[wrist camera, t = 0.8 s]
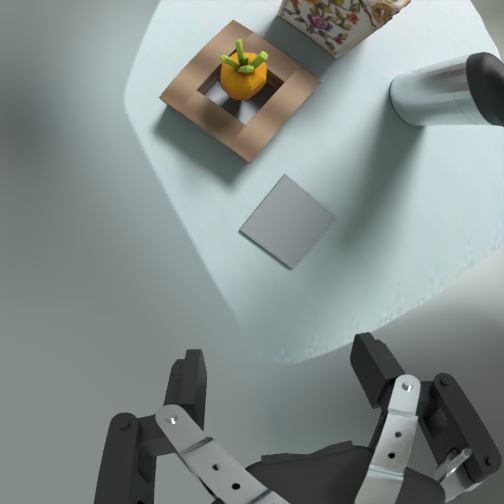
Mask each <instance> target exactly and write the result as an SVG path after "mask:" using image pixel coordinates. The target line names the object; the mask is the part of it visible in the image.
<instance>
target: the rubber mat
mask: <svg viewBox="0 0 504 504" xmlns="http://www.w3.org/2000/svg"><path fill="white" fill-rule="evenodd" d="M335 219H336V218H334V217H333V216H332V215H331V214H330V213H329V212H328V211H327V210H326V209H325V208H324V207H322V206H321V205H320V204H319V203H318V202H317V201H316V200H315V199H314V198H312V197H311V196H310V195H309V194H308V193H307V192H306V191H304V190H303V189H302V188H301V187H300V186H299V185H298V184H296V183H295V182H294V181H293V180H292V179H290V178H289V177H288V176H287V175H286V174H284V175H283V176H282V178H281V179H280V180H279V181H278V182H277V184H276V185H275V186H274V187H273V189H272V190H271V191H270V192H269V193H268V195H267V196H266V197H265V198H264V200H263V201H262V202H261V203H260V204H259V206H258V207H257V208H256V209H255V211H254V212H253V213H252V214H251V216H250V217H249V218H248V219H247V221H246V222H245V223H244V224H243V226H242V227H241V228H240V230H241V231H242V232H243V233H245V234H246V235H247V236H249V237H250V238H251V239H253V240H254V241H255V242H257V243H258V244H259V245H261V246H262V247H263V248H265V249H266V250H267V251H269V252H270V253H271V254H273V255H274V256H276V257H277V258H278V259H280V260H281V261H282V262H284V263H285V264H286V265H288V266H289V267H290V268H292V269H293V268H294V267H295V266H296V265H297V263H298V262H299V261H300V260H301V259H302V258H303V256H304V255H305V254H306V253H307V252H308V251H309V250H310V248H311V247H312V246H313V245H314V244H315V242H316V241H317V240H318V239H319V238H320V237H321V235H322V234H323V233H324V232H325V231H326V229H327V228H328V227H329V226H330V225H331V223H332V222H333V221H334V220H335Z"/></svg>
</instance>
